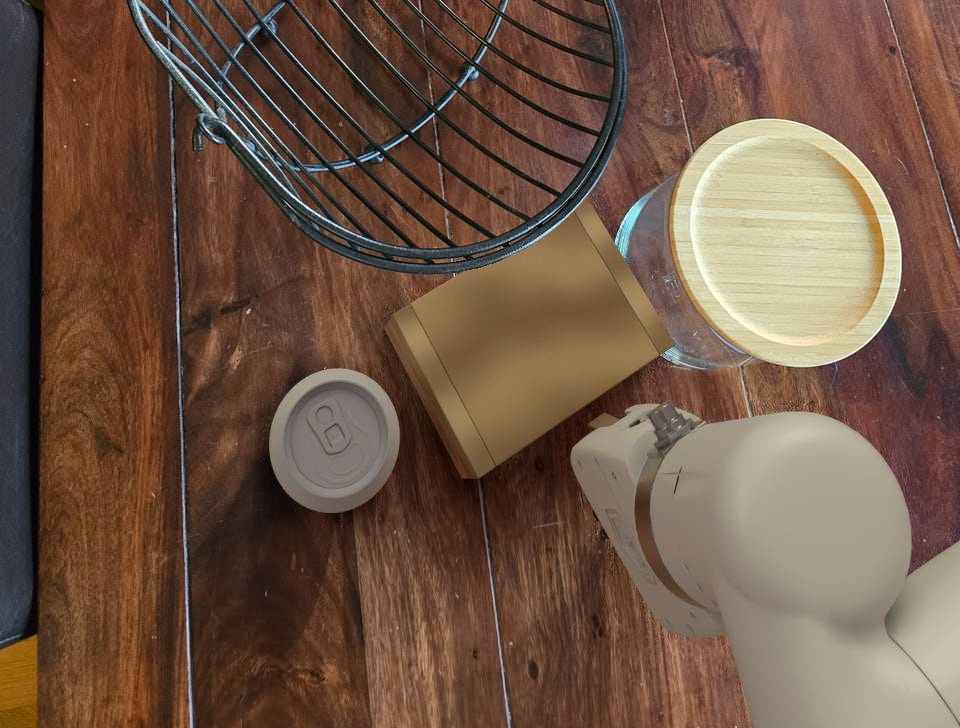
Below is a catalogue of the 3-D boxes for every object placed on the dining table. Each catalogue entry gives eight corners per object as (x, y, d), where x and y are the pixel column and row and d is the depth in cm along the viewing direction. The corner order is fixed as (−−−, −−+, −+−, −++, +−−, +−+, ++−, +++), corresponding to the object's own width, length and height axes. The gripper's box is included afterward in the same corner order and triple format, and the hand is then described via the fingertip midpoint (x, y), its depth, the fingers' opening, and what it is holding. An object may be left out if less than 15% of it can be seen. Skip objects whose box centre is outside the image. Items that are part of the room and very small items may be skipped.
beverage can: (306, 533, 67) (308, 544, 57) (251, 423, 70) (244, 414, 59) (406, 463, 70) (427, 461, 59) (351, 359, 72) (361, 339, 62)
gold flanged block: (644, 355, 75) (676, 344, 69) (461, 479, 70) (478, 479, 64) (563, 218, 78) (586, 196, 72) (383, 327, 73) (392, 314, 67)
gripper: (563, 406, 53) (501, 425, 69) (753, 741, 48) (639, 679, 64) (689, 320, 56) (601, 358, 72) (882, 630, 51) (741, 596, 67)
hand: (619, 509), depth 68 cm, fingers closed
